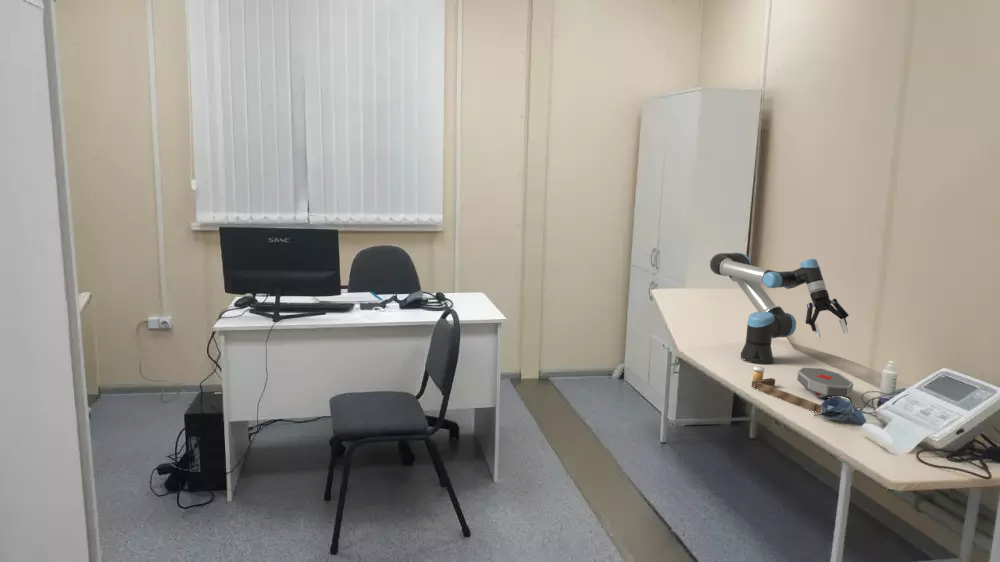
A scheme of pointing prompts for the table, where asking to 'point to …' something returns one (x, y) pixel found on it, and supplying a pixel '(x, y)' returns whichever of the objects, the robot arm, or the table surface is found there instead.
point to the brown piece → (784, 394)
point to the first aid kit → (824, 382)
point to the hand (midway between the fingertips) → (832, 335)
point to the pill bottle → (758, 373)
